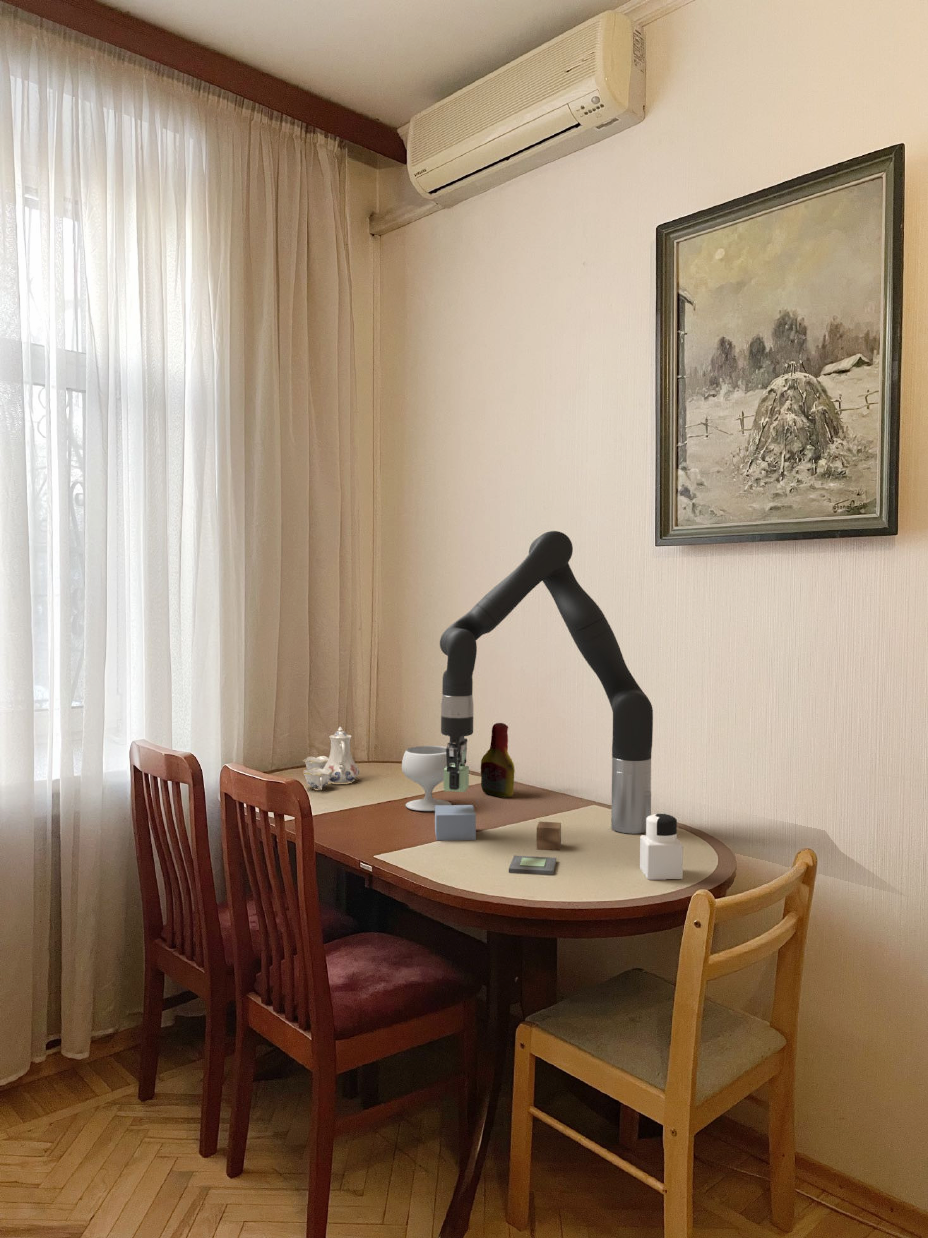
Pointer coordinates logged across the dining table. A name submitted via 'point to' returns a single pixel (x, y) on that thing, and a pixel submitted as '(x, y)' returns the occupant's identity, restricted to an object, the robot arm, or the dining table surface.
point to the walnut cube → (549, 836)
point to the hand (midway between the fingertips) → (456, 786)
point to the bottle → (498, 765)
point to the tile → (532, 865)
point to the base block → (455, 822)
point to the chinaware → (332, 763)
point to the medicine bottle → (661, 849)
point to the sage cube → (462, 779)
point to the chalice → (425, 773)
